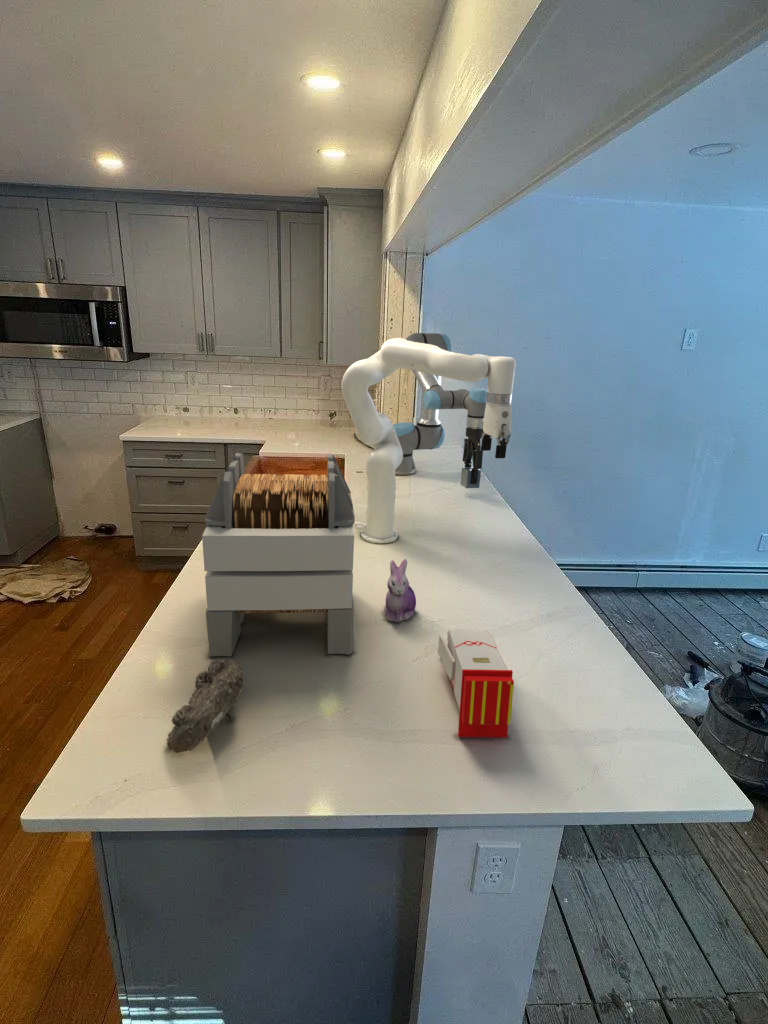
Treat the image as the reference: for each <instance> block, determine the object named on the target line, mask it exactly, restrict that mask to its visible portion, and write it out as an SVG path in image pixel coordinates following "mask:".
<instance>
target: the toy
mask: <svg viewBox="0 0 768 1024" xmlns="http://www.w3.org/2000/svg"><path fill="white" fill-rule="evenodd" d="M446 640H447V643H446V641H445V639H444V636H443V635H442V634H439V637H438V646H437V656H438V657H439V659H440V661H441V663H442V666H443V668H444V670H445V672H446V674H447V677H448V679H449V681H450V684H451V687H452V690H453V693H454V697H455V701H456V705H457V708H458V711H459V714H458V715H459V716H458V730H457V731H458V732H457V737H458V738H508V731H509V726H510V725H511V717H512V707H513V697H514V696H513V695H514V684H515V680H514V679H513V673H514V671H513V670H512V669H508V667H507V665H506V662H505V661H504V659H503V658H502V655H501V653H500V651H499V649H498V647H497V643H496V639H495V637H494V635H493V634H491V632H490V631H489V629H467V628H466V629H465V628H463V629H461V628H460V629H459V628H448V630H447V639H446Z"/></svg>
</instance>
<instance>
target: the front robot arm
mask: <svg viewBox="0 0 768 1024" xmlns="http://www.w3.org/2000/svg"><path fill="white" fill-rule="evenodd" d="M516 363H517V362H516V359H515V358H514V357H511V356H504V355H503V356H500V355H498V356H494V355H493V356H492V355H487V354H481V353H475V354H465V353H459V352H455V351H454V352H453V351H452V352H449V351H446V350H443V349H441V348H439V347H438V346H435V345H431V344H425V343H418V342H412V341H407V340H406V338H404V337H393V338H389V339H387V340H385V342H383V344H382V345H381V348H380V350H378V351H377V352H375V353H374V354H373V355H371V356H369V357H368V358H364V359H359V360H357V361H355V362H354V363H352V364H351V365H350V366H349V367H348V368H347V369H346V371H344V373H343V376H342V379H341V385H340V386H341V393H342V397H343V399H344V402H345V404H346V407H347V409H348V413H349V414H350V418H351V420H352V423H353V425H354V429H355V431H356V435H357V436H358V439H359V440H360V441H362V442H363V443H364V444H365V445H364V444H363V445H364V446H366V445H369V446H371V447H373V448H374V450H373V449H372V451H371V452H370V453H369V455H368V457H367V459H366V480H367V483H366V519H365V520H366V521H364V522H362V521H355V522H354V527H355V529H356V530H361V534H360V535H361V538H362V539H363V540H364V541H366V542H368V543H373V544H389V543H393V542H395V541H397V540H398V537H399V534H398V532H397V531H396V530H395V528H394V527H395V510H396V509H395V508H396V507H395V506H396V491H397V490H396V489H397V487H396V485H397V484H396V475H395V470H396V468H397V467H398V466H399V465H400V464H401V462H402V460H403V452H402V448H401V445H400V443H399V440H398V437H397V435H396V432H395V430H394V427H393V425H394V424H393V422H392V421H391V419H390V418H389V417H388V416H387V415H386V414H385V413H382V412H378V410H377V408H376V405H375V402H374V400H373V398H372V396H371V394H370V393H369V387H371V386H374V385H376V384H379V383H380V382H382V381H383V380H384V379H387V378H388V377H389V376H391V375H392V374H394V373H395V372H396V371H398V370H399V369H402V370H409V371H412V370H413V371H418V372H424V373H429V374H432V375H437V376H442V377H441V378H446V379H451V380H457V381H461V382H467V383H477V382H480V381H481V380H483V379H485V380H487V387H486V390H487V396H486V403H487V404H486V408H485V414H484V421H483V422H482V423H481V424H482V430H481V431H482V438H481V450H482V451H483V452H485V451H489V452H490V451H491V449H492V442H493V438H495V439H496V443H497V444H496V445H495V452H494V453H495V454H494V458H495V459H505V458H506V456H507V447H508V445H509V443H510V438H511V436H512V433H511V432H512V431H511V430H512V400H513V399H512V398H513V390H514V381H515V373H516ZM413 371H412V372H413Z"/></svg>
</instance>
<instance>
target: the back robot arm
mask: <svg viewBox="0 0 768 1024" xmlns="http://www.w3.org/2000/svg"><path fill="white" fill-rule="evenodd" d="M405 339H406V340H407V341H412V342H418V343H425V344H431V345H435V346H438V347H439V348H441V349H443V350H446V351H449V352H453V346H452V341H451V339H450V337H449V336H448V335H447V334H444V333H440V332H435V333H434V332H432V333H431V332H429V333H427V332H415V333H411V334H410V335H408V336H407V337H406V338H405ZM411 371H412V373H413V375H414V377H415V379H416V381H417V382H418V384H419V386H420V388H421V389H422V390H421V403H420V404H421V405H420V417H419V418H418V419H417V420H416V424H415V423H413V422H409V421H408V422H406V421H403V422H395V423H394V424H392V425H393V427H394V430H395V432H396V435H397V437H398V440H399V443H400V445H401V448H402V452H403V460H402V462H401V464H400V465H399V466H398V467H397V468H396V470H395V476H410V475H414V474H416V464H415V460H414V456H413V455H414V451H418V450H436V449H439V448H440V447H441V446H442V445H443V443H444V441H445V434H446V432H445V428H444V425H442V422H441V420H439V413H440V411H439V410H467V414H466V415H467V417H466V427H465V437H466V438H464V440H463V442H464V443H463V453H462V462H463V464H464V467H473V468H471V469H472V471H471V481H470V484H477V478H478V469H480V470H482V469H483V468H482V467H483V456H484V451H482V450H481V444H482V431H481V430H482V424H481V423H482V422H483V421H484V414H485V408H486V404H487V403H486V396H487V388H481V387H479V388H478V387H473V388H470V389H469V390H468V389H466V388H465V389H462V388H459V389H457V390H444V388H443V386H442V378H443V377H442V376H437V375H432V374H429V373H424V372H418V371H413V370H411ZM353 437H354V438H355V439H356V440H357V441H358V442H359V443H361V444H362V445H364V446H366V447H368V448H370V449H371V450H372V451H373V450H374V448H373V446H370V445H365V444H364V443H363V442H362V441H361V440H360V438H359V437H357V436H356V433H355V432H354V433H353Z"/></svg>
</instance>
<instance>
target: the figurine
mask: <svg viewBox="0 0 768 1024" xmlns="http://www.w3.org/2000/svg"><path fill="white" fill-rule="evenodd" d="M407 567H408V559H406V558H404V559H403V560H402V561H401V563H400V565H399V566H398V565H397V563H396V562H395V561H394V560H393V559H391V560H390V561H389V570H390V576H389V578H388V579H387V589H388V591H387V592H386V594H385V595H386V596H385V607H384V615H385V616H386V620H387V621H391V622H395V623H400V622H402V621H406V620H409V619H410V618H411V617H413V616H414V615H415V610H416V606H417V597H416V593H415V591H414V590H413V587H411V586H410V582H409V579H408V577H407V574H406V571H407Z"/></svg>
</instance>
